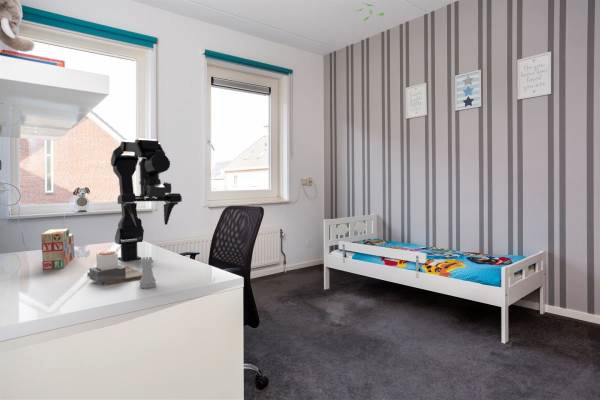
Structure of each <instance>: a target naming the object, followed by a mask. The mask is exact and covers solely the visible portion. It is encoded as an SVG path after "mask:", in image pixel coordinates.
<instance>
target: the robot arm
mask: <svg viewBox="0 0 600 400" xmlns="http://www.w3.org/2000/svg"><path fill="white" fill-rule="evenodd" d="M125 152H127V154H125ZM128 152H131V153H134V155H133V154H130V153H129V154H128ZM139 158H141V160H140V159H139ZM139 160H140V161H139ZM138 162H139V163H138ZM110 165H111V166H112V171H113V173H114V174H115V176H116V177H117V178H118V184H119V195H117V198H116V199H117V204H118V205H120V207H121V218H120V219H119V222H118V225H117V227H118V228H117V229H116V233H115V236H114V241H115V244H116V245H119V246H120V256H118V261H119V260H120V261H123V262H127V261H134V260H141V259H142V257H141V256H139V255H138V253H139V251H138V243H143V241H144V232H145V230H144V227H143V226H142V219H141V218H140V217H138V212H137V205H138V203H137V202H165V203H164V204H163V219H164V220H163V221H164V225H168V223H169V219H170V216H171V214H172V213H171V212H172V210H173V209H174V207H175V206H177V205H178V204H179V203H181V202H183V200H182V199H183V197H182V194H180V193H179V192H178V193H175V192H174V193H172V183H171V182H166V181H165V182H163V184H162V182H161V179H160V175H161V174H162V173H165V172H168V170H169V169H170V166H171V161H170V159H169V157H167V155H166V152H165V150H164V149H163V147H162V145H161V143H160V142H159V140H158V139H148V138H137V139H135V140H125V139H124V140H121V142H120V145H119V146H118V147H116V148H115V149H114V150H113V151H112V154H111V158H110ZM137 165H138V166H139V185H140V194H139V195H136V194H135V191H134V184H133V176H134V174H135V172H136V170H137Z"/></svg>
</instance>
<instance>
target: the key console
mask: <svg viewBox="0 0 600 400" xmlns="http://www.w3.org/2000/svg"><path fill="white" fill-rule="evenodd" d="M86 273H87V277H89V279H90V280H92V281H94V282H95V283H97V284H101V283H102V285H103V286H106V287H107V286H110V285H116V284H122V283H126V282H133V281H137V280H141V278H142V273H143V271H140V270H137V269H134V268H133V267H130V266H122V265H120V264H118V268H115V269H109V270H100V269H97V266H95V267H89V272H86Z"/></svg>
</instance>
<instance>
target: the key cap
mask: <svg viewBox="0 0 600 400" xmlns="http://www.w3.org/2000/svg"><path fill="white" fill-rule="evenodd" d="M95 257H96V262H95V263H96V267H97V269H100V270H109V269H115V268H118V265H119V259H118V257H119V255H118V253H117V252H115V251H113V250H112V251H111V250H109V251H101V252H98V253H96V256H95Z"/></svg>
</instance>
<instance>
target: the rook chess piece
mask: <svg viewBox="0 0 600 400" xmlns="http://www.w3.org/2000/svg"><path fill="white" fill-rule="evenodd" d="M141 259H142V260H141V261H140V264H141V265H142V266H141V268H142V272H143V273H142V278H141V279H139V282H138V283H139V285H138V286H139V287H140V289H151V288H155V287H156V286H157V283H156V281H157V280H156V278H155V276H154V274H153V273H154V272H153V262H154V260H153V257H152V256H151V257H150V256H149V257H148V256H146V257H141Z"/></svg>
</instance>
